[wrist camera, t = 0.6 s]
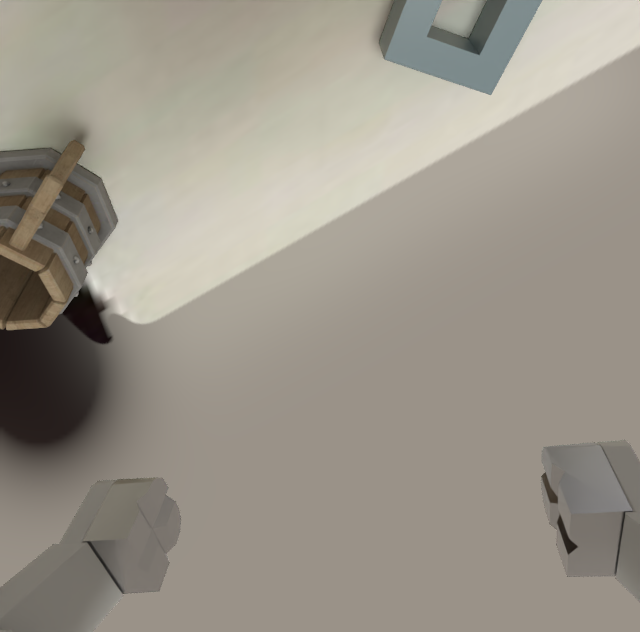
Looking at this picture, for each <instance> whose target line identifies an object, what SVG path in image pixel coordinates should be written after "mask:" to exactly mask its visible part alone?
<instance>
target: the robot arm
mask: <svg viewBox="0 0 640 632" xmlns="http://www.w3.org/2000/svg"><path fill="white" fill-rule="evenodd" d="M542 463H543V466H544V469H545V473H544V474H543V475H542V476H541V481H542V482H541V486H542V495H543V502H544V506H545V510H546V514H547V517H548V520H549V524H550V525H551V526H553V527H554V528H555V529H556V530H557V539H556V545H557V548H558V551H559V554H560V557H561V560H562V563H563V566H564V569H565V572H566V575H567V577H568V576H569V577H572V576H573V577H577V576H578V577H580V576H616V579H617V580H618V581H619V582H620V583H621V584H622V585H623V586H624V587H625V588H626V589H627V590H628V591H629V592H630V593H631V594H632V595H633V596H634V597H635V598H636V599H637V600H638V601H639V602H640V461H639V459H638V457H637V455H636V454H635V452H634V450H633V448H632V447H631V445H630V444H629V443H628V442H627V441H626V440H620V441H608V442H598V443H595V442H594V443H582V444H572V445H560V446H549V447H543V450H542ZM167 490H168V486H167V484H166V483H165V481H164V479H163V478H137V479H118V480H103V481H97V482H96V483H95V484H93V485H92V486H91V488H90V490H89V492H88V493H87V495H86V497H85V499H84V501H83V502H82V504H81V506H80V508H79V509H78V511H77V513H76V515H75V516H74V518H73V520H72V522H71V524H70V526H69V527H68V529H67V531H66V533H65V534H64V536H63V538H62V540H61V541H60V543H59V544H53V545H52V546H50V547H49V548H48V549H47V550H45V551H44V552H43V553H42V554H41V555H40V556H38V557H37V558H36V559H35V560H33V561H32V562H31V563H30V564H28V565H27V566H26V567H25V568H23V569H22V570H21V571H20V572H19V573H17V574H16V575H15V576H14V577H12V578H11V579H10V580H9V581H8V582H6V583H5V584H4V585H3V586H1V587H0V632H93V631H94V630H95V629H96V628H97V626H98V625H99V624H100V623H101V622H102V621H103V619H104V618H105V617H106V616H107V614H108V613H109V612H110V611H111V610H112V609H113V608H114V606H115V605H116V604H117V603H118V602H119V601H120V600H121V598H122V597H123V594H127V593H142V592H156V591H160V588H161V585H162V582H163V579H164V577H165V574H166V571H167V568H168V565H169V560H168V557H167V555H166V553H167V552H168V551H169V550H170V549H171V548H172V547H173V546H174V545H175V544H176V542H177V539H178V536H179V533H180V524H181V516H180V511H179V508H178V506H177V504H176V501H174V500H173V499H171V498H170V497H168V496H167V495H166V493H167Z"/></svg>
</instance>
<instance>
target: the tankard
mask: <svg viewBox="0 0 640 632" xmlns="http://www.w3.org/2000/svg"><path fill="white" fill-rule="evenodd" d="M84 150H85V148H84V146H83V145H82V144H80V143H78V142H77V141H75V140H73V141H71V142H70V143H69V144H68V146H67V147H66V149H65V150H64V152H63V153H62V155H61V154H59V153H58V152H56V151H54V150H53V149H51V148H47V149H34V150H21V151H7V152H0V328H1V329H4V328H5V327H6V329H7V330H16V329H31V328H46V327H47V326H50V325H51V324H52V322H53V321H54V320H55V318H56V317H57V315H58V314H62V312H63V311H64V310H65V308H66V307H67V306H68V304H69V303H70V302H71V300H72V299H73V298H74V297H75V296H77V295H78V293H79V292H78V291H79V290H80V288H81V287H82V285H83V282H84V280H85V278H86V276H87V273H88V272H87V270H86V267H87V266H90V265H91V264H92V261H91V260H92V259H93V258H94V256H95V255H96V254H97V252H98V251H99V249H100V248H101V247H102V245H103V244H104V243H105V241H106V240H107V238H108V237H109V236H110V234H111V233H112V232H113V230H114V229H115V227H116V225H117V222H118V220H117V217H116V215H115V212H114V210H113V207H112V205H111V203H110V200H109V198H108V195H107V193H106V190H105V188H104V185H103V183H102V180H101V179H100V178H99V177H97V176H95V175H94V174H92V173H91V172H89V171H87V170H86V169H84V168H82V167H81V166H79V165H77V162H78V160H79V159H80V157H81V155H82V154H83V152H84Z"/></svg>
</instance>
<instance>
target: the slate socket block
mask: <svg viewBox="0 0 640 632" xmlns="http://www.w3.org/2000/svg"><path fill="white" fill-rule="evenodd" d="M441 2H442V0H394V3H393V6H392V8H391V11H390V14H389V17H388V19H387V22H386V25H385V27H384V30H383V33H382V36H381V38H380V41H379V45H380V48H381V51H382V54H383V58H384V59H385V60H388V61H391V62H394V63H397V64H400V65H403V66H406V67H409V68H411V69H414V70H417V71H420V72H423V73H426V74H429V75H432V76H435V77H438V78H441V79H444V80H447V81H450V82H453V83H456V84H459V85H462V86H465V87H468V88H471V89H474V90H477V91H480V92H483V93H486V94H489V95H491V94H492V92H493V90H494V89H495V87H496V85H497V83H498V81H499V79H500V78H501V76H502V74H503V72H504V70H505V68H506V66H507V65H508V63H509V61H510V59H511V57H512V55H513V54H514V52H515V50H516V48H517V46H518V44H519V42H520V41H521V39H522V37H523V35H524V33H525V31H526V29H527V28H528V26H529V24H530V22H531V20H532V18H533V17H534V15H535V13H536V11H537V9H538V7H539V5H540V4H541V2H542V0H487V2H486V4H485V6H484V8H483V10H482V12H481V14H480V16H479V18H478V20H477V23H476V25H475V27H474V29H473V31H472V33H471V35H470V37H469V39H467V38H464V37H461V36H458V35H456V34H453V33H450V32H447V31H445V30H442V29H439V28H436V27H433V26H431V25H432V23H433V20H434V18H435V16H436V13H437V11H438V9H439V6H440V4H441Z"/></svg>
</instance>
